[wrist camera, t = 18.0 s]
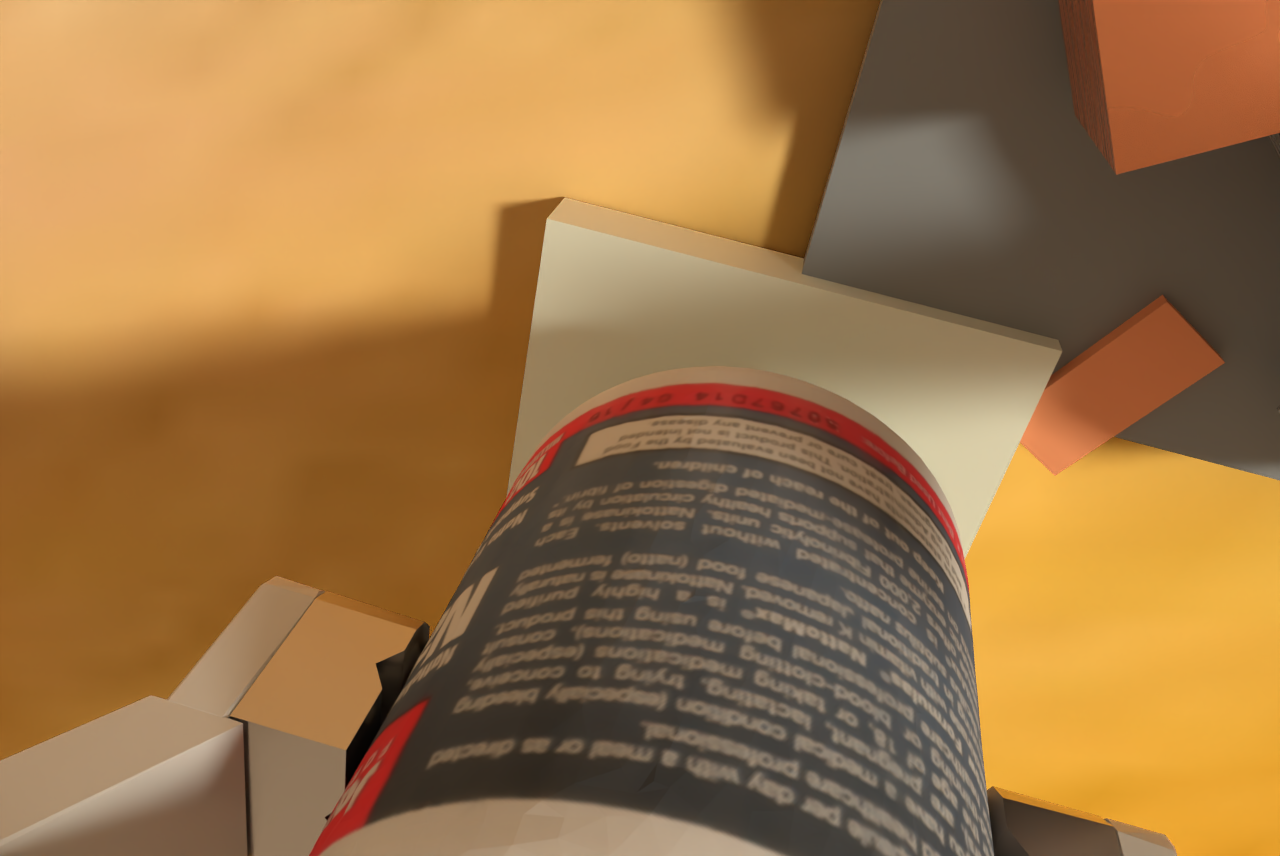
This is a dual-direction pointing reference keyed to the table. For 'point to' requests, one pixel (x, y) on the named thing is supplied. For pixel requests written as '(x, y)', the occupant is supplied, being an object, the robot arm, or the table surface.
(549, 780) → the pill bottle
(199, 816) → the robot arm
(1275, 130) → the sprocket
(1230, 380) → the gray square plate
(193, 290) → the table surface
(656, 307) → the pad
